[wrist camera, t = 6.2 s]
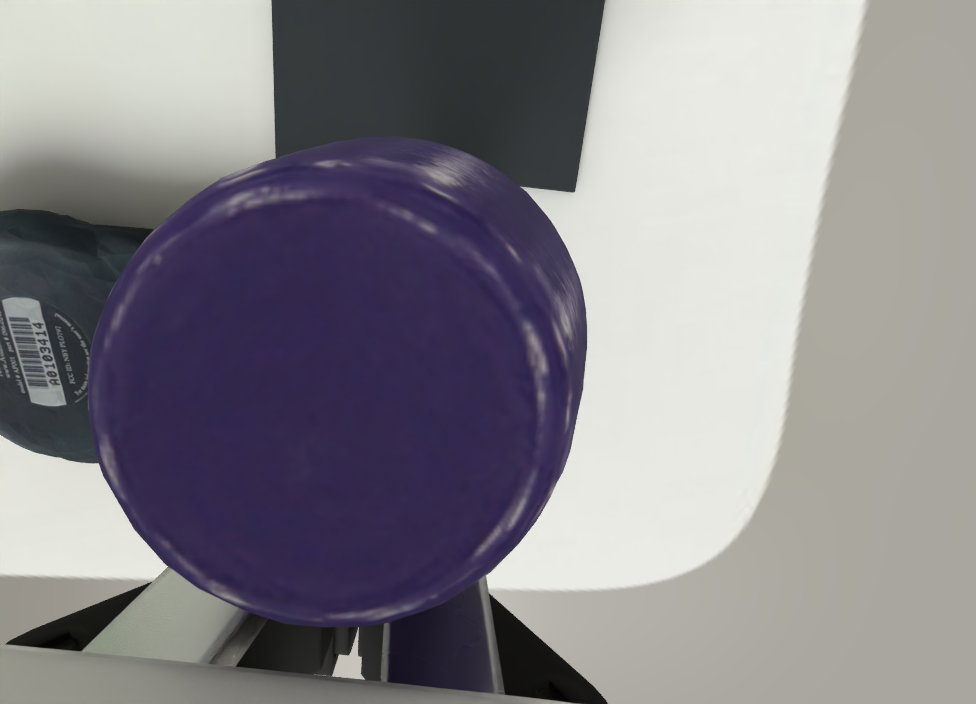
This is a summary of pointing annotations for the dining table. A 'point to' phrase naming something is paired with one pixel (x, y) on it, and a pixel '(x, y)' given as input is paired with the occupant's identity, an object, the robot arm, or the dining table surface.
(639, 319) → the dining table surface
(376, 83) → the mat
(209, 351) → the toy lamp
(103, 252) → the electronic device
